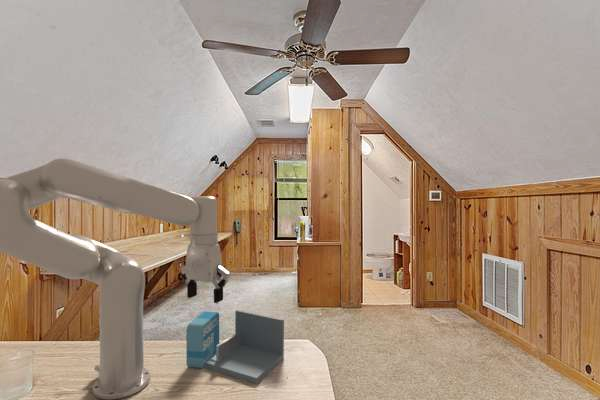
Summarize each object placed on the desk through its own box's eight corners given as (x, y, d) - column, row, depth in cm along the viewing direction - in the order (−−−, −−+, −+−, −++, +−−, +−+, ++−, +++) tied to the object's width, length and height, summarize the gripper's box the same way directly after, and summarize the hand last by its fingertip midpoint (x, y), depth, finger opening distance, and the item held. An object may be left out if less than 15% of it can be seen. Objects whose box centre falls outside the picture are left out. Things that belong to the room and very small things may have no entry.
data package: (201, 370, 90) (201, 326, 90) (186, 369, 91) (186, 325, 91) (219, 349, 102) (219, 310, 102) (205, 348, 103) (205, 309, 103)
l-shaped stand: (205, 368, 92) (205, 326, 91) (236, 346, 104) (237, 309, 104) (256, 383, 84) (256, 338, 84) (283, 358, 97) (283, 319, 97)
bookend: (210, 360, 93) (210, 343, 93) (232, 345, 102) (232, 330, 102) (218, 362, 92) (218, 346, 92) (240, 347, 101) (240, 332, 101)
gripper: (171, 239, 96) (172, 298, 97) (219, 243, 88) (220, 308, 89) (190, 236, 103) (191, 291, 104) (236, 239, 95) (237, 299, 96)
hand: (205, 299), depth 96 cm, fingers open, 9 cm apart
